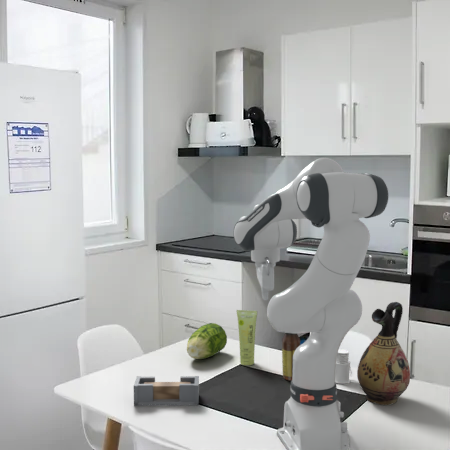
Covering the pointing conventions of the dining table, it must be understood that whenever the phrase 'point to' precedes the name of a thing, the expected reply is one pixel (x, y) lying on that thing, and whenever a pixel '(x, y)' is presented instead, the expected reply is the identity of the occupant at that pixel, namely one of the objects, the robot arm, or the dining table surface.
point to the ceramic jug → (384, 360)
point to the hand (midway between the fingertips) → (264, 299)
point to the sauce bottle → (289, 353)
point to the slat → (166, 389)
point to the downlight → (342, 367)
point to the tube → (247, 335)
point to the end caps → (186, 397)
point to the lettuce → (206, 341)
